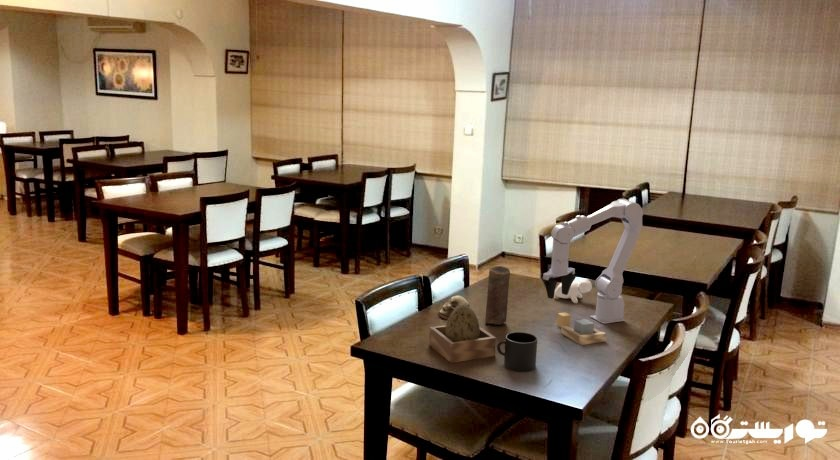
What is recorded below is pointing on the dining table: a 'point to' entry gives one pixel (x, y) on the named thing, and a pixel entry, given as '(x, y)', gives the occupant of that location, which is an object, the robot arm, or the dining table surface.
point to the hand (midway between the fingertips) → (557, 296)
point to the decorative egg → (462, 324)
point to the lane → (584, 336)
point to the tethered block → (579, 326)
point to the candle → (497, 295)
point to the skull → (452, 306)
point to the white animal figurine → (574, 290)
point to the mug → (519, 351)
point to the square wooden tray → (462, 345)
